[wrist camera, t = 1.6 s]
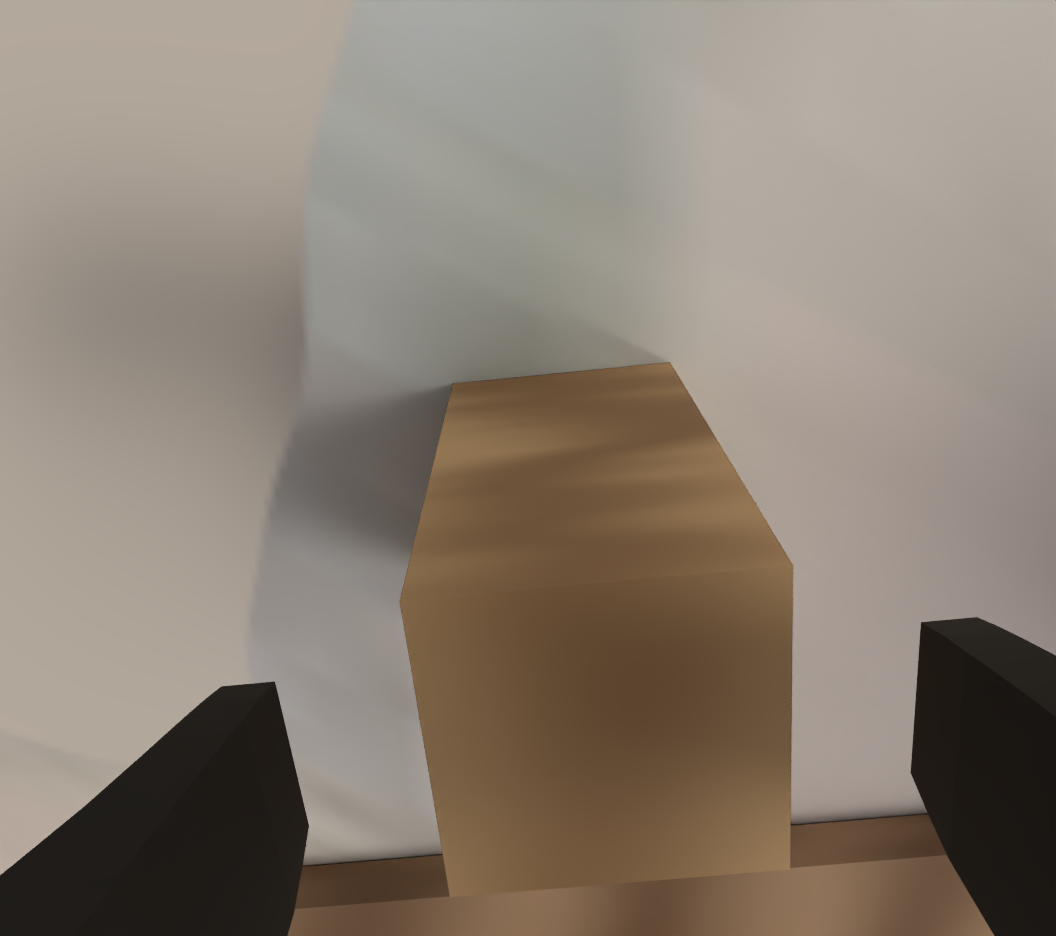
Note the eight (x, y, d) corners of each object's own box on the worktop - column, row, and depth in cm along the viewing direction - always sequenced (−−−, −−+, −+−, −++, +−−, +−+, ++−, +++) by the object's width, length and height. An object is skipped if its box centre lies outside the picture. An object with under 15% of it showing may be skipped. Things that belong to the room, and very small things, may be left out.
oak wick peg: (670, 362, 17) (793, 565, 9) (678, 557, 18) (789, 869, 11) (453, 383, 17) (399, 601, 9) (478, 575, 18) (450, 896, 11)
